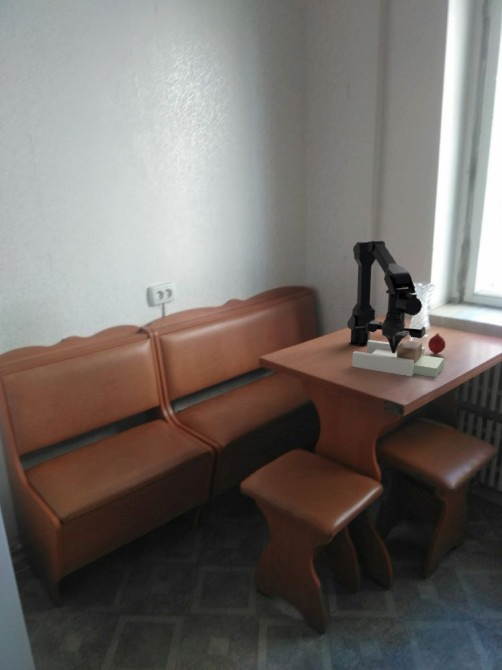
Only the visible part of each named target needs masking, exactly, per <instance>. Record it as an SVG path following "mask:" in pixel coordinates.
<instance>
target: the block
mask: <svg viewBox="0 0 502 670" xmlns="http://www.w3.org/2000/svg"><path fill="white" fill-rule="evenodd" d="M422 347H423V342H419V341H411V340H406V339H405V340H403V341H402V342H400V345H399V346H397V358H404V359H410V360H414V364H415V363H416V362H417V361H418V360H419V359H420V357H421V352H422Z"/></svg>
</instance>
